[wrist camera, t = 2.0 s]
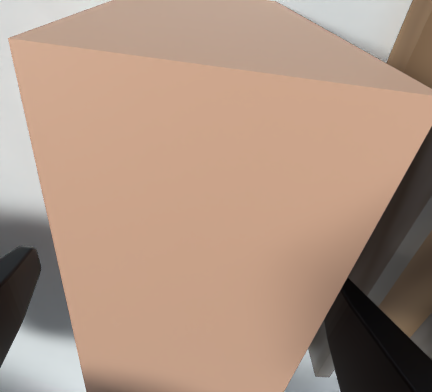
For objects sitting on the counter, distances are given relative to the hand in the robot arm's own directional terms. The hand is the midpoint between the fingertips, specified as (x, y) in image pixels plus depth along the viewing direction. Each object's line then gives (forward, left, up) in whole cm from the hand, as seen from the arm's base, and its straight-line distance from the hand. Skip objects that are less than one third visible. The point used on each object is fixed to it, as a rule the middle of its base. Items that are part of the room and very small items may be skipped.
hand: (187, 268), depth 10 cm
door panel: (0, 0, -5) cm, 5 cm away
